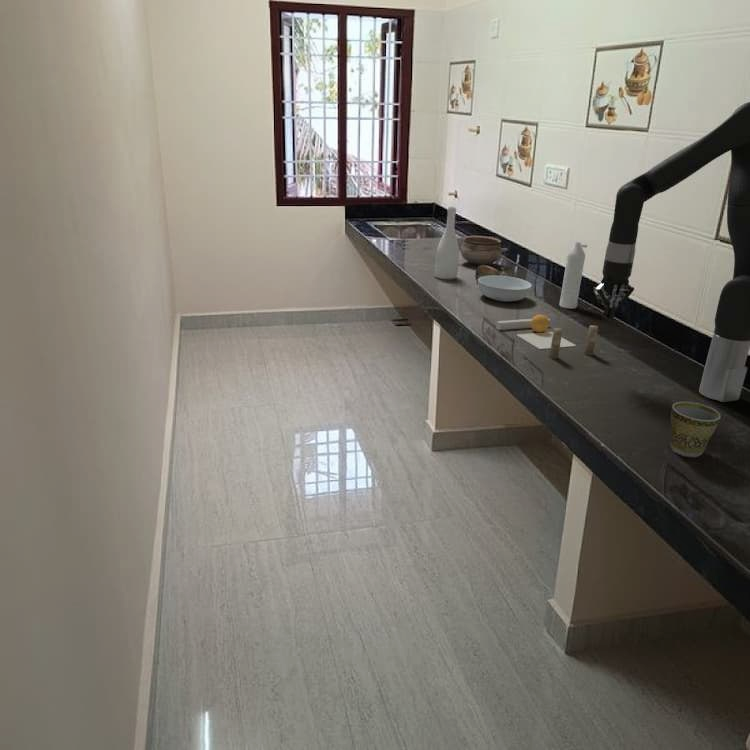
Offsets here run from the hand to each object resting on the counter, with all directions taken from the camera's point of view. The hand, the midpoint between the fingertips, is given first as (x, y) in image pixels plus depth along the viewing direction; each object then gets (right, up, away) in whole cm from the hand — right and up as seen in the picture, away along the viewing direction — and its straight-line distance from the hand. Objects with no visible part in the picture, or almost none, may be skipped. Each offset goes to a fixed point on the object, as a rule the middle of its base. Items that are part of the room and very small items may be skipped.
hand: (608, 319), depth 191 cm
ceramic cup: (+6, -33, -37) cm, 50 cm away
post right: (+1, -9, +20) cm, 22 cm away
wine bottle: (-35, +27, +102) cm, 111 cm away
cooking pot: (-17, +36, +128) cm, 134 cm away
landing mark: (-10, -5, +29) cm, 32 cm away
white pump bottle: (+9, +10, +68) cm, 69 cm away
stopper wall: (-15, +1, +42) cm, 44 cm away
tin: (-19, +21, +91) cm, 96 cm away
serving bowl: (-16, +14, +75) cm, 78 cm away
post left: (-11, -10, +15) cm, 22 cm away
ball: (-10, +2, +36) cm, 38 cm away
